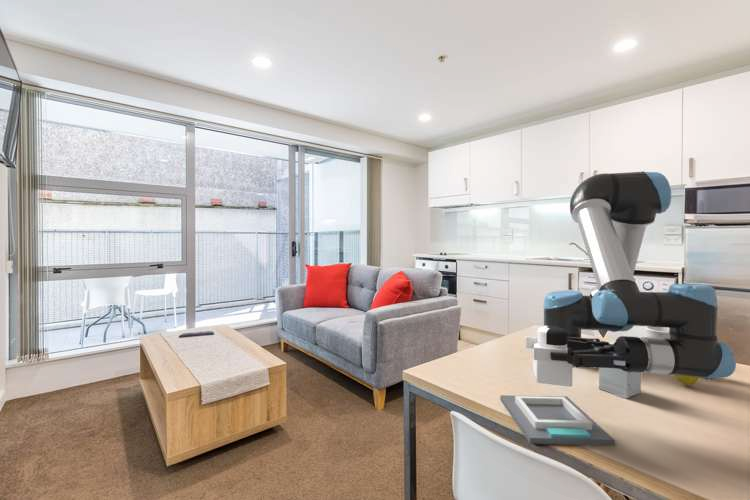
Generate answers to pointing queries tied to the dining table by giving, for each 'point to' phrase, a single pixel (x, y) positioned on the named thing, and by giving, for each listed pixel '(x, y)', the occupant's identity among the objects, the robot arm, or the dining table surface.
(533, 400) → the dock
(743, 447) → the dining table surface
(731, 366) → the robot arm
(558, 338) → the medicine bottle
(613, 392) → the supplement box
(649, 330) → the dixie cup
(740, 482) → the dining table surface
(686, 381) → the lemon
